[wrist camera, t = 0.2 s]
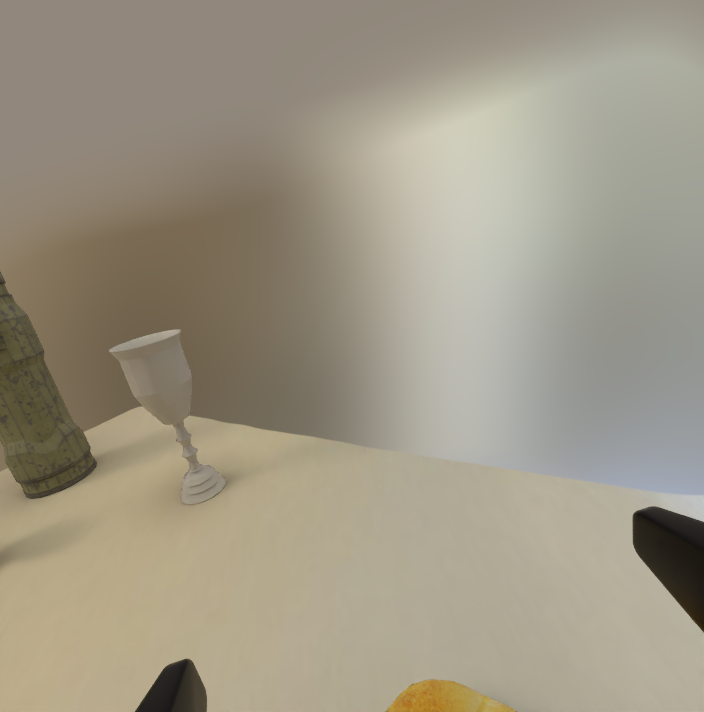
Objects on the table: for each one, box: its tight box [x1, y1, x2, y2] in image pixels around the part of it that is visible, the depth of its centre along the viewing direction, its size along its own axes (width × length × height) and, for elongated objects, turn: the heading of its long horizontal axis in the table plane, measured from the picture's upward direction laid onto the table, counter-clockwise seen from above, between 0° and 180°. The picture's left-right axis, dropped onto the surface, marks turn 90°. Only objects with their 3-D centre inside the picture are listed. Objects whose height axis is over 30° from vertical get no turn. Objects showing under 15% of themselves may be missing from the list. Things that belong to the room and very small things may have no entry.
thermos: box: [0, 272, 96, 498], centre depth 51 cm, size 9×12×35 cm
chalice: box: [109, 330, 226, 504], centre depth 42 cm, size 7×7×18 cm
